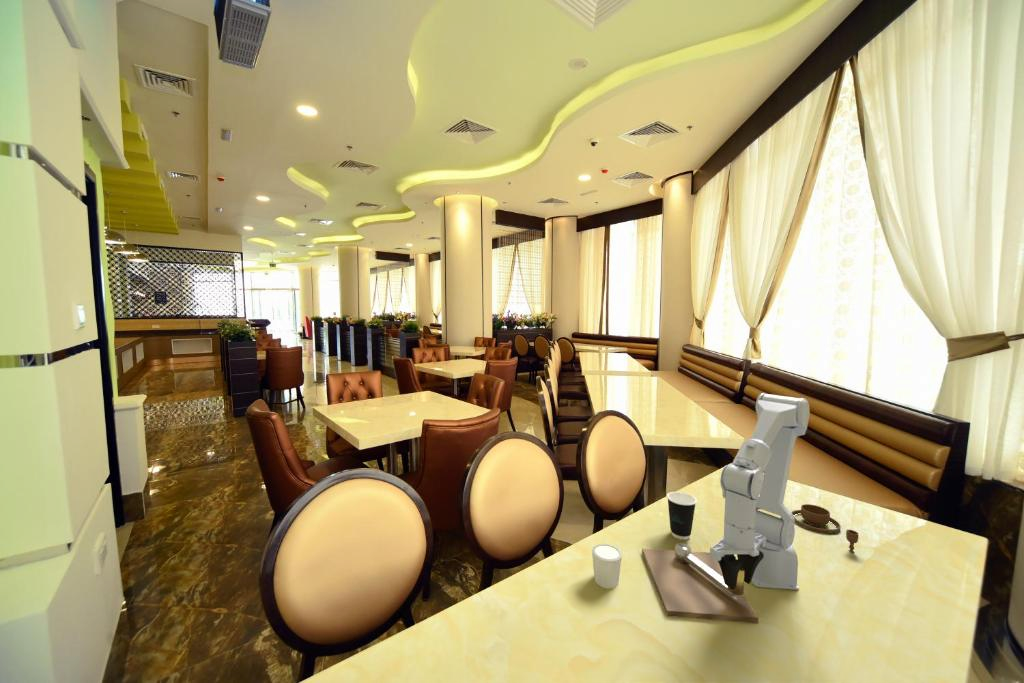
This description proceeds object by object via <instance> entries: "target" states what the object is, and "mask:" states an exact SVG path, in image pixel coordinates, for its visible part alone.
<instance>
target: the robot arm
mask: <svg viewBox="0 0 1024 683" xmlns="http://www.w3.org/2000/svg"><path fill="white" fill-rule="evenodd" d="M755 412H756V417H757V422H756V425H755V427H754V429H753V430H754V431H753V433H752V436H751V439H750V438H749V439H746V440H744V441H743V442H742V444H741V446H740V447H739V449H738V451H737V454H736V455H735V456H734V459H733V461H732V462H731V463H729V465H725V466H724V467H723V468H722V470H721V475H720V478H719V483H720V488H721V489H722V495H721V496H722V498H723V499H724V516H723V517H724V520H723V521H724V522H723V536H722V537H721V538H720V539H719V541H717V542H716V543H715V544H714V545H713V546H710V547H709V553H710V556H711V557H712V558H714V559H716V560H717V561H718V563H719V565H720V568H721V571H722V574H723V579H724V583H725V585H727V586H728V587H730V588H731V589H735V588H736V585H737V577H738V573H739V570H740V568H741V566H742V567H743V568H744V583H746V584H747V585H749V584H751V582H752V584H753V585H754V586H755V587H756V588H763V589H764V588H766V589H779V590H780V589H782V590H797V591H798V590H800V587H799V586H798V568H799V567H798V566H799V560H798V554H797V551H796V549H795V547H794V546H793V542H794V539H795V532H796V531H795V529H796V528H795V524H796V522H795V519H796V518H795V517H794V516H793V514H792V513H791V512H792V511H791V510H790V509H788V507H787V506H785V504H784V501H785V495H786V489H787V483H788V479H789V474H790V468H791V463H792V458H793V453H794V447H795V443H796V441H797V437H800V436H804V435H806V431H807V430H808V426H809V419H810V414H811V412H810V404H809V401H808V400H807V399H806V398H805V397H802V398H801V397H798V398H797V397H792V396H783V395H778V394H770V393H769V394H768V393H766V392H761V393H760V394H759V395H758V396H757V398H756V402H755ZM760 510H763V511H760ZM764 511H765V512H764ZM767 512H768V513H767ZM770 513H771V514H770ZM772 514H773V515H772ZM775 515H776V516H775ZM777 516H778V517H777ZM735 555H736V556H735Z"/></svg>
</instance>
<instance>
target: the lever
mask: <svg viewBox="0 0 1024 683" xmlns="http://www.w3.org/2000/svg"><path fill="white" fill-rule="evenodd" d="M674 549H675V559H676V560H677V561H679V562H681V563H689V564H690V565H692V566H693V567H694V568H695V569H697V570H698V571H699V572H701V573H702V574H703V575H705V576H706V577H707V578H708V579H710V580H711V581H712V582H714V583H715V584H716V585H717V586H719V587H720V588H721V589H723V590H724V591H725V592H726V593H728V594H729V595H730V596H735V595H743V596H744V592H745V590H744V588H745V582H744V568H743V567H742V566H741V568H740V570H739V573H738V577H737V585H736V588H735V589H731V588H730V587H728V586H727V585H725V583H724V579H723V577H722V576H721V575H719V574H718V573H716V572H715V571H714V570H712V569H711V568H710V567H708V566H707V565H706V564H704V563H703V562H702V561H700V560H699V559H698V558H696V557H695V556H693V555H692V554H691V552H692V547H691V546H690V545H688V544H686V543H682V542H681V543H680V542H678V543H676V544H675V547H674Z"/></svg>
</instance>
